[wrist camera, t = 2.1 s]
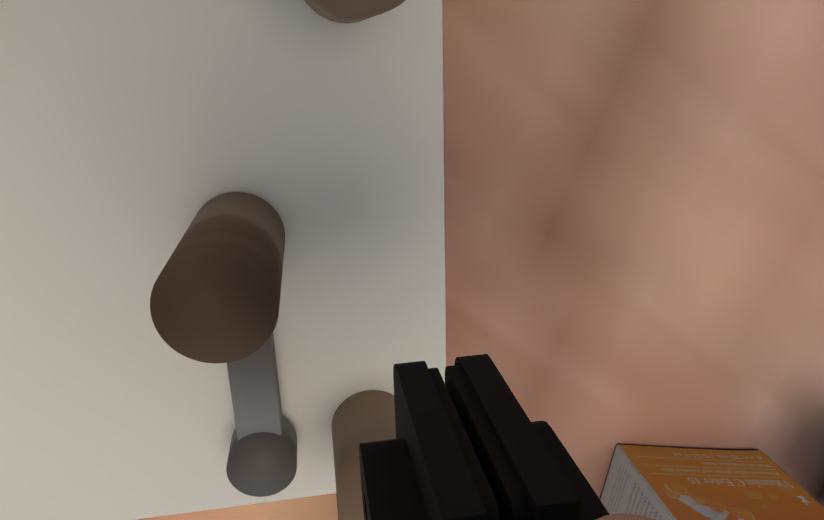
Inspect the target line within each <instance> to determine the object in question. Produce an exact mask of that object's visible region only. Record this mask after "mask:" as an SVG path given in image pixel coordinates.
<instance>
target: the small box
mask: <svg viewBox="0 0 824 520" xmlns="http://www.w3.org/2000/svg"><path fill="white" fill-rule="evenodd" d="M600 501H601V502H602V504H603V505H604V507H605V508H606V510H607V511H608V513H609V514H610V515H611V514H618V513H625V514H638V515H642V516H645V517H649V518H652V519H656V520H824V507H823V506H822V505H821V504H820V503H818V502H817V501H816V500H815V499H814V498H813V497H812V496H811V495H810V494H809V493H807V492H806V491H805V490H804V489H803V488H802V487H801V486H800V485H799V484H798V483H796V482H795V481H794V480H793V479H792V478H791V477H790V476H789V475H788V474H787V473H786V472H784V471H783V470H782V469H781V468H780V467H779V466H778V465H776V464H775V463H774V462H773V461H772V460H771V459H770V458H769V457H768V456H767V455H765V454H764V453H763V452H762V451H759V450H747V451H737V450H710V449H686V448H670V447H652V446H636V445H622V444H621V445H617V446H616V448H615V452H614V455H613V459H612V462H611V466H610V469H609V472H608V475H607V479H606V482H605V486H604V489H603V492H602V496H601V499H600Z"/></svg>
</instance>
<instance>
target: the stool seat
mask: <svg viewBox="0 0 824 520" xmlns="http://www.w3.org/2000/svg"><path fill="white" fill-rule="evenodd" d="M228 192H245V193H249V194H253V195H256V196H258V197H260V198H262V199H264V200H265V201H266V202H268V203H269V204H270V205H271V206H272V207H273V208H274V209H275V210H276V211H277V213H278V214H279V216H280V218H281V220H282V222H283V225H284V229H285V248H284V259H283V271H282V282H281V294H280V305H279V315H278V320H277V324H276V326H275V329H274V331H273V336H274V345H275V354H276V363H277V372H278V381H279V390H280V399H281V408H282V417H283V418H285V419H286V420H287V421H289V422H290V423H291V424H292V426H293V427H294V429H295V431H296V434H297V470H296V474H295V477H294V479H293V481H292V482H291V483H290V484H289V486H287V487H286V488H285V489H284V490H282V491H281V492H279V493H276V494H274V495H271V496H265V497H255V496H250V495H246V494H244V493H242V492H240V491H238V490H237V489H236V488H235V487H234V486H233V485H232V484H231V483H230V481H229V479H228V477H227V472H226V467H227V461H228V455H229V449H230V444H231V438H232V434H233V432H234V430H235V428H236V425H235V418H234V411H233V404H232V397H231V390H230V383H229V376H228V369H227V363H217V364H214V363H204V362H199V361H196V360H192V359H190V358H187V357H185V356H183V355H181V354H180V353H178V352H176V351H175V350H174V349H172V348H171V347H170V346H169V345H168V344H167V343H166V342H165V341H164V340H163V339H162V338H161V336H160V335H159V333H158V332H157V330H156V328H155V326H154V323H153V321H152V317H151V312H150V297H151V292H152V289H153V286H154V283H155V282H156V280H157V278H158V276H159V274H160V273H161V271H162V270H163V268H164V266H165V265H166V263H167V261H168V260H169V258H170V257H171V255H172V253H173V252H174V250H175V248H176V247H177V245H178V244H179V242H180V240H181V239H182V237H183V235H184V234H185V232H186V230H187V229H188V227H189V226H190V224H191V222H192V221H193V219H194V217H195V216H196V214H197V213H198V211H199V210H200V208H201V207H202V206H203V205H204V204H205V203H206V202H208V201H209V200H210V199H212V198H214V197H216V196H218V195H221V194H224V193H228ZM417 361H425V362H426V364H427V367H428V368H438V369H439V372H440V374H441V376H442V378H443V381H444V383H445V368H446V323H445V225H444V128H443V31H442V0H0V520H136V519H143V518H151V517H158V516H166V515H173V514H181V513H188V512H196V511H203V510H211V509H219V508H226V507H234V506H241V505H249V504H256V503H264V502H271V501H279V500H286V499H294V498H302V497H309V496H317V495H324V494H332V493H336V494H337V508H338V520H364V511H363V501H362V489H361V475H360V460H359V443H367V442H375V441H383V440H391V439H396V426H395V403H394V381H393V366H394V364H398V363H408V362H417Z"/></svg>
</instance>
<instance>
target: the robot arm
mask: <svg viewBox="0 0 824 520" xmlns="http://www.w3.org/2000/svg"><path fill="white" fill-rule="evenodd" d="M393 381H394V403H395V426H396V439H391V440H383V441H375V442H367V443H359V460H360V475H361V489H362V501H363V511H364V520H656V519H652V518H649V517H645V516H642V515H638V514H625V513H618V514H611V515H610V514H609V513H608V511H607V510H606V508H605V507H604V505H603V504H602V502H601V501H600V499H599V498H598V496H597V495H596V493H595V492H594V490H593V489H592V487H591V486H590V484H589V483H588V481H587V480H586V479H585V477H584V476H583V474H582V473H581V471H580V470H579V468H578V467H577V465H576V464H575V462H574V461H573V459H572V458H571V456H570V455H569V453H568V452H567V450H566V449H565V447H564V446H563V445H562V443H561V442H560V440H559V439H558V437H557V436H556V434H555V433H554V431H553V430H552V428H551V427H550V426H549V425H548V423H547V422H545V421H536V422H530V420H529V419H528V417H527V415H526V414H525V412H524V411H523V409H522V407H521V406H520V404H519V403H518V401H517V399H516V398H515V396H514V395H513V393H512V392H511V390H510V388H509V387H508V385H507V384H506V382H505V380H504V379H503V377H502V376H501V374H500V373H499V371H498V369H497V368H496V366H495V365H494V363H493V361H492V360H491V358H490V357H489V356H488V354H483V355H474V356H464V357H456V360H455V366H447V367H446V368H445V383H444V381H443V378H442V376H441V374H440V372H439V369H438V368H428V367H427V364H426V362H425V361H417V362H408V363H398V364H394V366H393Z"/></svg>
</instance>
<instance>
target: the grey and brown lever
mask: <svg viewBox="0 0 824 520" xmlns="http://www.w3.org/2000/svg"><path fill="white" fill-rule="evenodd" d="M284 248H285V229H284V225H283V222H282V220H281V218H280V216H279V214H278V213H277V211H276V210H275V209H274V208H273V207H272V206H271V205H270V204H269V203H268V202H266V201H265V200H264V199H262V198H260V197H258V196H256V195H253V194H249V193H245V192H228V193H224V194H221V195H218V196H216V197H214V198H212V199H210V200H209V201H208V202H206V203H205V204H204V205H203V206H202V207H201V208H200V210H199V211H198V213H197V214H196V216H195V217H194V219H193V221H192V222H191V224H190V226H189V227H188V229H187V230H186V232H185V234H184V235H183V237H182V239H181V240H180V242H179V244H178V245H177V247H176V248H175V250H174V252H173V253H172V255H171V257H170V258H169V260H168V261H167V263H166V265H165V266H164V268H163V270H162V271H161V273H160V274H159V276H158V278H157V280H156V282H155V283H154V286H153V289H152V292H151V297H150V312H151V317H152V321H153V323H154V326H155V328H156V330H157V332H158V333H159V335H160V336H161V338H162V339H163V340H164V341H165V342H166V343H167V344H168V345H169V346H170V347H171V348H172V349H174V350H175V351H176V352H178V353H180V354H181V355H183V356H185V357H187V358H190V359H192V360H196V361H199V362H204V363H214V364H217V363H227V369H228V376H229V383H230V390H231V397H232V404H233V411H234V418H235V425H236V428H235V430H234V432H233V434H232V438H231V444H230V449H229V455H228V461H227V467H226V472H227V477H228V479H229V481H230V483H231V484H232V485H233V486H234V487H235V488H236V489H237V490H238V491H240V492H242V493H244V494H246V495H250V496H255V497H265V496H271V495H274V494H276V493H279V492H281V491H282V490H284V489H285V488H286V487H287V486H289V484H290V483H291V482H292V481H293V479H294V477H295V474H296V470H297V434H296V431H295V429H294V427H293V426H292V424H291V423H290V422H289V421H287V420H286V419H285V418H283V417H282V408H281V399H280V390H279V381H278V372H277V363H276V354H275V345H274V336H273V331H274V329H275V326H276V324H277V320H278V315H279V305H280V294H281V282H282V271H283V259H284Z"/></svg>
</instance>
